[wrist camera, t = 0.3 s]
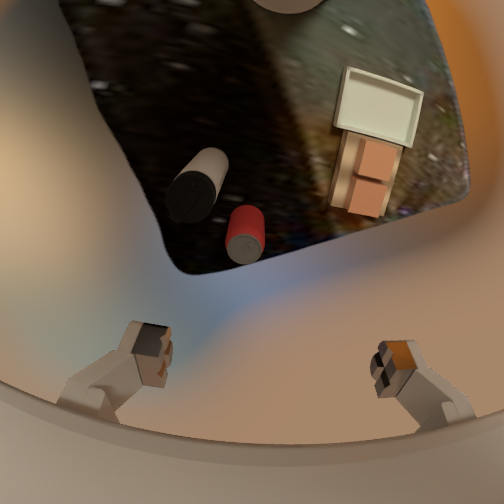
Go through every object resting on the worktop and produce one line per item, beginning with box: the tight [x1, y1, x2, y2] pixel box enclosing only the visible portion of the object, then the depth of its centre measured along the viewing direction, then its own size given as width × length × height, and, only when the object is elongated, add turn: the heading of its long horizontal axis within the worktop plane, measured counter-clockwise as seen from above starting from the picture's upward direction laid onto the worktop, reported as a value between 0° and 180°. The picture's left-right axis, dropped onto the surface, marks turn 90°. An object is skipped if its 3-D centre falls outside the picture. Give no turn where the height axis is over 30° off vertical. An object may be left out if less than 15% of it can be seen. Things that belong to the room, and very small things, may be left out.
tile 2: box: [353, 138, 397, 182], centre depth 48 cm, size 6×6×3 cm
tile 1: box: [344, 175, 387, 218], centre depth 51 cm, size 6×6×3 cm
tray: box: [333, 66, 424, 148], centre depth 46 cm, size 11×15×2 cm
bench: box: [328, 130, 403, 216], centre depth 52 cm, size 14×11×3 cm
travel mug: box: [165, 147, 229, 224], centre depth 45 cm, size 6×7×20 cm
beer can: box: [225, 205, 265, 264], centre depth 54 cm, size 7×7×12 cm
